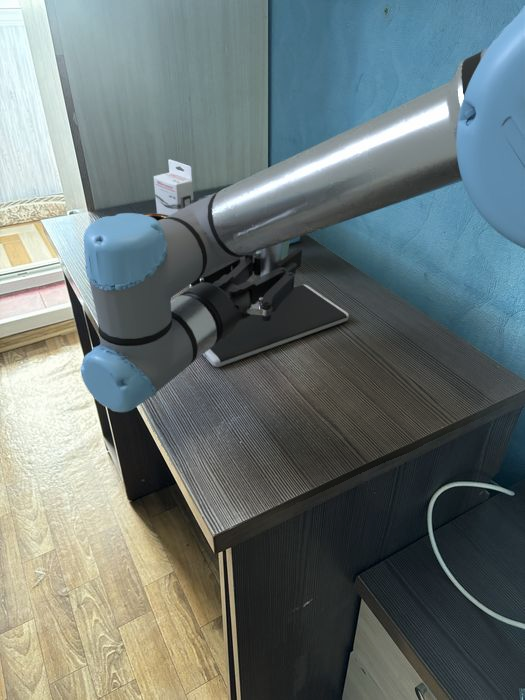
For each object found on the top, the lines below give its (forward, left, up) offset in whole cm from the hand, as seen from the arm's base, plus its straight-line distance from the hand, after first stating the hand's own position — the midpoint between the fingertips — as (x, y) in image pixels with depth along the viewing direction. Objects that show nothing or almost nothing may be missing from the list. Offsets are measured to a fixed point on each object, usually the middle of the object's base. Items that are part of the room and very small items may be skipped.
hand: (288, 254), depth 80 cm
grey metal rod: (-1, +5, -7) cm, 9 cm away
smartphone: (+3, +1, -14) cm, 15 cm away
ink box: (+46, -20, -14) cm, 53 cm away
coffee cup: (+16, -18, -14) cm, 28 cm away
